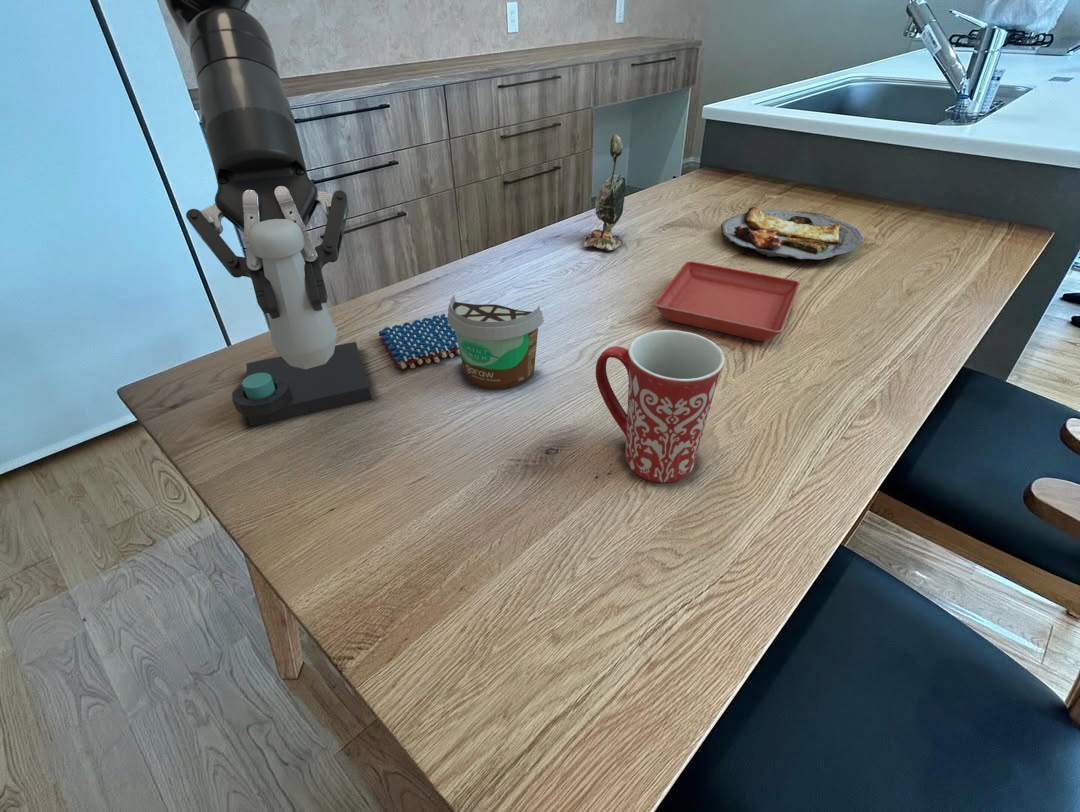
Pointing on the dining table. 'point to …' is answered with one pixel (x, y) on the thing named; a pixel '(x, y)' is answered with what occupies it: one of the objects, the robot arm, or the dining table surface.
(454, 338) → the woven mat
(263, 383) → the button
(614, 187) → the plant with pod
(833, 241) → the food plate
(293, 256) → the salt shaker
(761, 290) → the plant saucer
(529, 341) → the food container
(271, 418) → the scale
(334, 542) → the dining table surface
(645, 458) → the mug
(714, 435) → the dining table surface
